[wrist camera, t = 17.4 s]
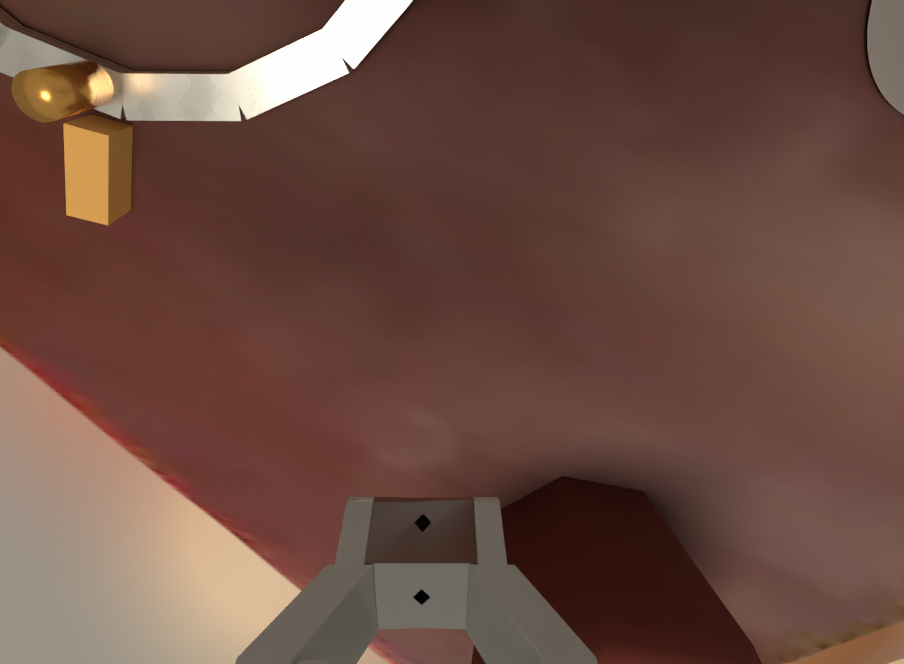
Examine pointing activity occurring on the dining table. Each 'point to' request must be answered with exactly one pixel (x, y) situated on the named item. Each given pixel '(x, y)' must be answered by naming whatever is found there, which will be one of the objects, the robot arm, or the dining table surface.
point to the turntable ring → (186, 72)
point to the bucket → (619, 577)
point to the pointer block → (98, 168)
